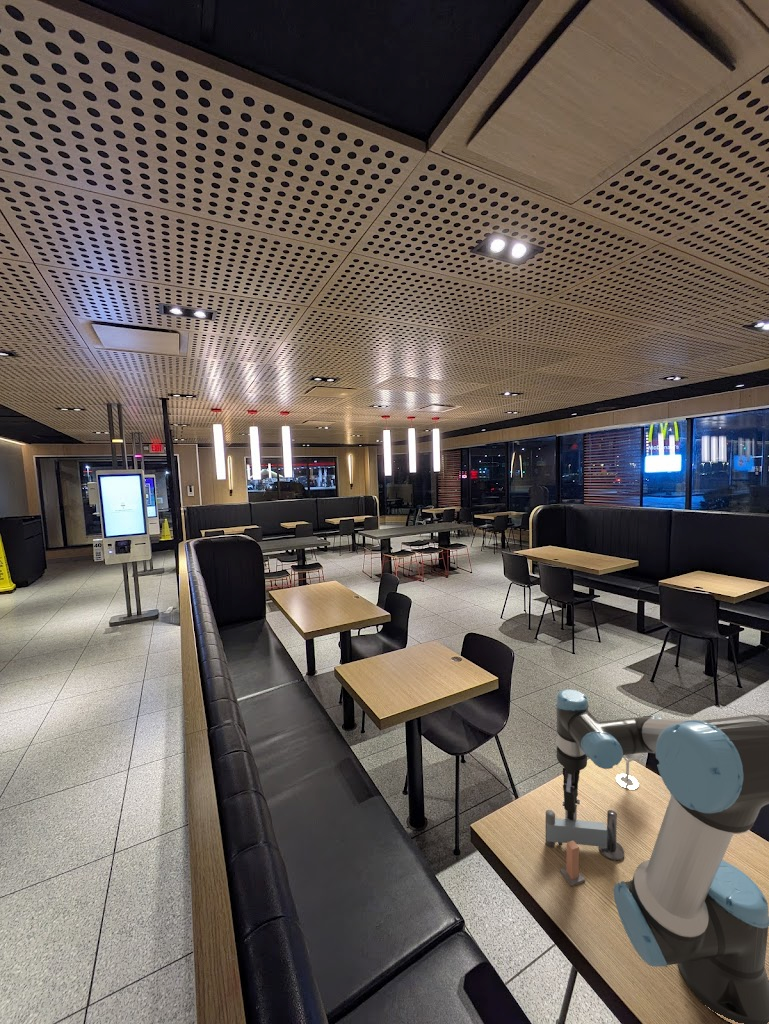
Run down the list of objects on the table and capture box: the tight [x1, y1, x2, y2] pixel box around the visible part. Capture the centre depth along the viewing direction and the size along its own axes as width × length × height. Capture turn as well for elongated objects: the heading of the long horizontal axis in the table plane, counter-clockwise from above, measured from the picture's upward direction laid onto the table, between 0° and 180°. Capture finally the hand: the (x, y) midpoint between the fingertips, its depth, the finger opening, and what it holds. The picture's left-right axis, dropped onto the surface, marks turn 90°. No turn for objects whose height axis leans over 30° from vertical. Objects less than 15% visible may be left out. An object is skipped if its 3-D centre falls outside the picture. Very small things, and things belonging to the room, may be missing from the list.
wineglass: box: [615, 753, 644, 791], centre depth 133 cm, size 8×8×18 cm
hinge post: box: [598, 809, 625, 862], centre depth 111 cm, size 6×6×11 cm
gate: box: [545, 809, 607, 848], centre depth 112 cm, size 15×2×9 cm, turn 80°
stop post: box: [559, 840, 586, 887], centre depth 104 cm, size 4×4×9 cm
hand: (570, 825), depth 115 cm, fingers closed
